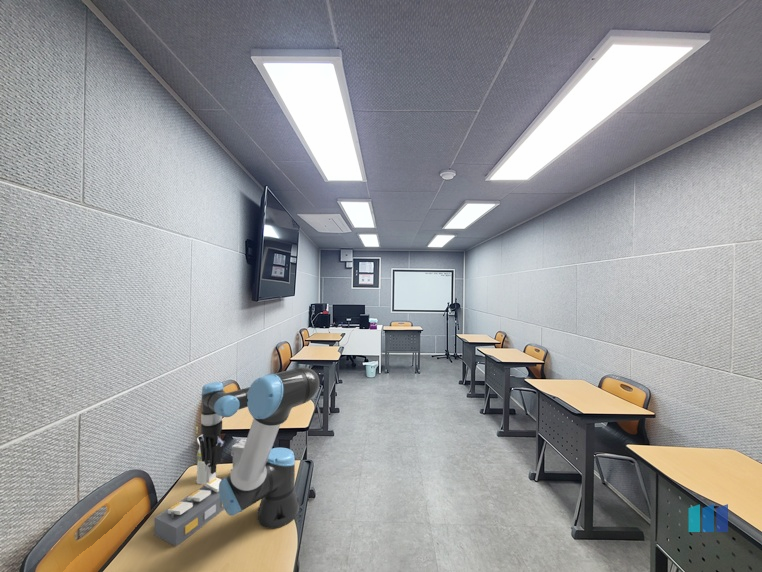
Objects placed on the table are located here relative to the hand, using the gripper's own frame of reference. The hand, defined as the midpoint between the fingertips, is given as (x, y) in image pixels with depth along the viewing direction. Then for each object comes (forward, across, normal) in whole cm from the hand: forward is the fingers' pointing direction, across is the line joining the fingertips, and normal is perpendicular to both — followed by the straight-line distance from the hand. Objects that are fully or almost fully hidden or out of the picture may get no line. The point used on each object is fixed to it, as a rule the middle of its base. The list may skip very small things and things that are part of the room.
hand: (210, 479), depth 118 cm
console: (+8, -3, +7) cm, 11 cm away
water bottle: (+9, +15, -9) cm, 19 cm away
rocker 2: (+1, -3, +7) cm, 8 cm away
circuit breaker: (+9, -2, -18) cm, 20 cm away
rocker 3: (+1, -3, 0) cm, 3 cm away
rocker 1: (+1, -3, +14) cm, 14 cm away
